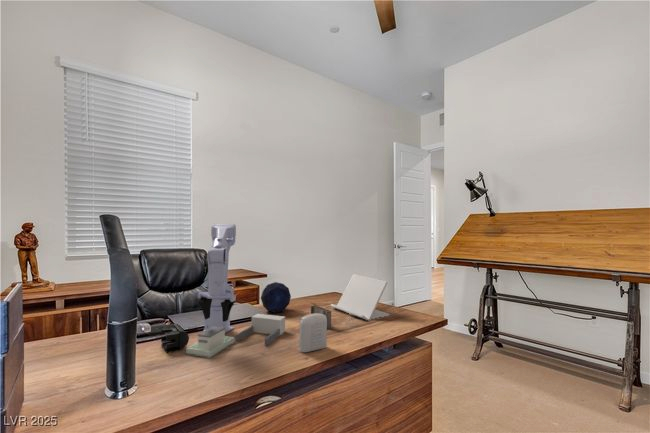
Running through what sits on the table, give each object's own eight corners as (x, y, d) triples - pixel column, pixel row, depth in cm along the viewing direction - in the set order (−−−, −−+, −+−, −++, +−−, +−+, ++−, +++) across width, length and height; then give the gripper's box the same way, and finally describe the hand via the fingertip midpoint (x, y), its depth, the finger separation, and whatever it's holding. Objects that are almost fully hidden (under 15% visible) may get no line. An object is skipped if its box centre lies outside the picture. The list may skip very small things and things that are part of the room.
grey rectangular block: (196, 351, 111) (196, 334, 111) (213, 341, 120) (214, 326, 120) (208, 353, 110) (208, 336, 110) (224, 342, 119) (225, 327, 119)
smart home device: (188, 327, 133) (131, 335, 123) (188, 331, 133) (131, 339, 123) (186, 321, 140) (132, 328, 130) (186, 325, 140) (131, 333, 130)
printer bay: (236, 341, 122) (236, 325, 122) (257, 328, 137) (257, 313, 137) (266, 345, 118) (266, 329, 118) (285, 331, 134) (285, 316, 134)
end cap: (188, 349, 114) (189, 329, 114) (166, 354, 110) (167, 333, 110) (181, 340, 122) (182, 322, 122) (160, 344, 118) (161, 325, 118)
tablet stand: (356, 304, 179) (356, 273, 179) (390, 316, 158) (390, 280, 159) (329, 309, 168) (330, 276, 168) (362, 322, 148) (362, 284, 148)
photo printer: (321, 344, 120) (322, 310, 120) (328, 348, 117) (328, 313, 117) (297, 350, 115) (297, 314, 115) (303, 354, 111) (303, 317, 111)
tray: (186, 354, 110) (186, 348, 110) (212, 339, 123) (212, 334, 123) (210, 357, 107) (210, 351, 107) (234, 342, 120) (234, 337, 120)
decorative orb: (300, 298, 168) (283, 274, 170) (290, 305, 153) (272, 279, 155) (279, 313, 170) (263, 289, 172) (267, 322, 156) (250, 295, 158)
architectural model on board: (309, 323, 146) (310, 301, 146) (315, 322, 148) (315, 300, 148) (325, 330, 137) (325, 307, 137) (331, 329, 139) (331, 306, 139)
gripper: (192, 282, 116) (191, 320, 116) (227, 285, 112) (227, 325, 111) (205, 278, 123) (204, 315, 123) (239, 281, 118) (238, 319, 118)
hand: (216, 319), depth 117 cm, fingers open, 7 cm apart
